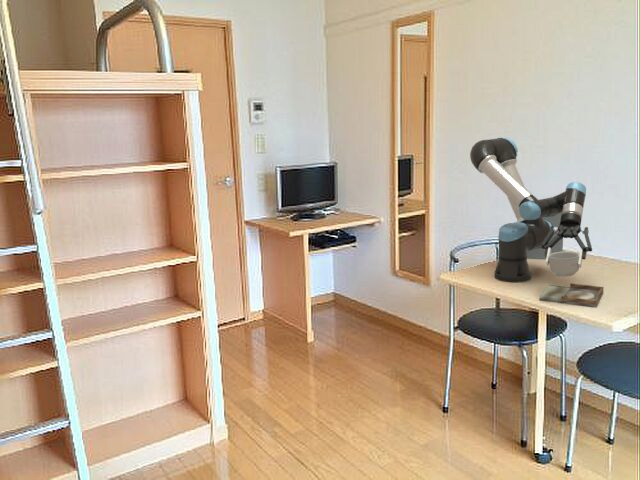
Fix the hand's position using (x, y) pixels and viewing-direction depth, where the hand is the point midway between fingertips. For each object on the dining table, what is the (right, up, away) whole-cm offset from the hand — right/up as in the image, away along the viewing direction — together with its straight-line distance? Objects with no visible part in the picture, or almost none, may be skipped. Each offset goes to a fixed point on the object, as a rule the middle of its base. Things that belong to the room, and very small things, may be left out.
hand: (563, 264), depth 217 cm
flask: (+15, +1, +58) cm, 60 cm away
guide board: (+5, -13, +4) cm, 14 cm away
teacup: (+2, -4, +3) cm, 5 cm away
